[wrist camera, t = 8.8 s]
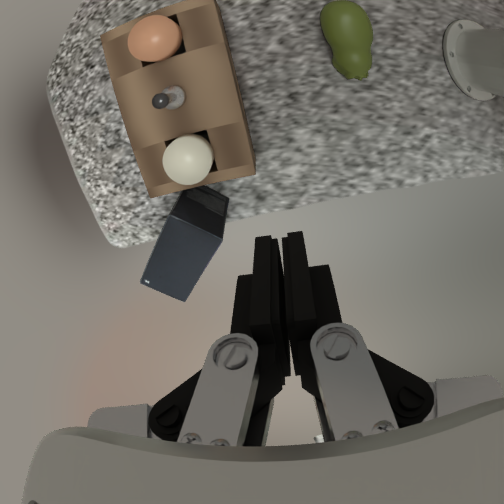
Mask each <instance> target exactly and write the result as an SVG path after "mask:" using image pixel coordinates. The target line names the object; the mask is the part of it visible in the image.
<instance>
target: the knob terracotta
mask: <svg viewBox="0 0 504 504" xmlns="http://www.w3.org/2000/svg"><path fill="white" fill-rule="evenodd" d="M128 48H129V51H130V53H131V54H132V55H133V56H134V57H135V58H137V59H139V60H141V61H149V62H159V61H163V60H166V59H168V58H170V57H173V56H176V55H179V54H182V53H185V52H186V49H185V45H184V41H183V37H182V31H181V28H180V27H179V25H178V24H177V23H176V22H174V21H173V20H171V19H169V18H168V17H165V16H162V15H152V16H148V17H145V18H143V19H142V20H140V21H139V22H138V23H136V24H135V25H134V27H133V28H132V29H131V31H130V33H129V36H128Z"/></svg>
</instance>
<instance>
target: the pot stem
mask: <svg viewBox="0 0 504 504" xmlns="http://www.w3.org/2000/svg"><path fill="white" fill-rule="evenodd" d="M185 99H186V93H185V91H184V90H183V88H181V87H179V86H169V87H167V88H165V89H164V90H163V91H162V93H159V94H156V95H155V96H154V97H153V98H152V105H153V107H154V108H156V109H162V108H167V109H176V108H178V107H180V106H182V105H183V103H184V102H185Z"/></svg>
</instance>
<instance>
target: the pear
mask: <svg viewBox="0 0 504 504" xmlns="http://www.w3.org/2000/svg"><path fill="white" fill-rule="evenodd" d="M320 23H321V27H322V31H323V34H324V36H325V38H326V40H327V42H328V43H329V45H330V46H331V48H332V52H333V58H332V64H333V66H334V67H335V68H336V69H337V71H338V72H339V73H341V74H343V75H344V76H345V77H346V79H352V78H355V79H358V80H360V78H361V80H362V78H367V76H368V70H370V68H371V65H372V55H371V50H370V49H371V44H372V41H373V30H372V26H371V22H370V20H369V18H368V16H367V14H366V12H365V11H364V10H363V9H362V8H361V7H360V6H359V5H357V4H356V3H353V2H351V1H346V0H337V1H333V2H330V3H328V4H327V5H325V6H324V7H323V9H322V11H321V14H320Z"/></svg>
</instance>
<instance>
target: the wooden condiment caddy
mask: <svg viewBox="0 0 504 504" xmlns="http://www.w3.org/2000/svg"><path fill="white" fill-rule="evenodd" d="M152 15H162V16H165V17H168V18H169V19H171V20H173V21H174V22H176V23H177V24H178V25H179V27H180V28H181V31H182V37H183V41H184V45H185V49H186V53H182V54H179V55H176V56H173V57H170V58H168V59H166V60H163V61H159V62H149V61H141V60H139V59H137V58H135V57H134V56H133V55H132V54H131V53H130V51H129V48H128V36H129V33H130V31H131V29H132V28H133V27H134V25H135V24H136V23H138V22H139V21H140V20H142V19H143V18H145V17H148V16H152ZM100 37H101V41H102V46H103V50H104V54H105V58H106V62H107V66H108V70H109V73H110V77H111V81H112V84H113V88H114V91H115V95H116V98H117V102H118V105H119V108H120V112H121V115H122V118H123V121H124V124H125V128H126V131H127V134H128V137H129V140H130V143H131V146H132V149H133V152H134V155H135V157H136V160H137V163H138V166H139V169H140V172H141V174H142V177H143V180H144V183H145V185H146V188H147V191H148V193H149V196H150V198H154V197H158V196H162V195H165V194H169V193H173V192H177V191H181V190H186V189H190V188H194V187H198V186H203V185H207V184H212V183H216V182H221V181H225V180H230V179H235V178H240V177H245V176H250V175H255V174H256V162H255V154H254V150H253V145H252V141H251V136H250V132H249V127H248V123H247V119H246V114H245V110H244V106H243V101H242V97H241V93H240V89H239V84H238V80H237V76H236V72H235V68H234V64H233V60H232V56H231V52H230V48H229V44H228V40H227V36H226V32H225V28H224V24H223V20H222V16H221V12H220V9H219V6H218V4H217V2H216V0H186V1H182V2H179V3H176V4H173V5H170V6H167V7H164V8H162V9H159V10H156V11H154V12H151V13H148V14H146V15H143V16H141V17H139V18H136V19H134V20H132V21H129V22H127V23H125V24H123V25H121V26H118V27H116V28H114V29H112V30H110V31H108V32H106V33H104V34H102V35H100ZM169 86H179V87H181V88H183V90H184V91H185V93H186V99H185V102H184V103H183V105H182V106H180V107H178V108H176V109H167V108H162V109H156V108H154V107H153V105H152V98H153V97H154V96H155V95H156V94H159V93H162V91H163V90H164V89H165V88H167V87H169ZM206 129H207V132H208V136H209V140H210V143H211V147H212V149H213V152H214V160H213V164H212V166H211V168H210V171H209V173H208V174H207V176H206V177H205V178H204V179H203V180H202V181H200V182H198V183H196V184H192V185H183V184H179V183H177V182H175V181H173V180H172V179H171V178H170V177H169V176H168V175H167V174H166V172H165V170H164V167H163V155H164V152H165V150H166V148H167V147H168V146H169V145H170V144H171V143H172V142H173V141H174V140H175V139H177V138H178V137H180V136H182V135H185V134H191V133H195V132H199V131H202V130H206Z"/></svg>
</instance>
